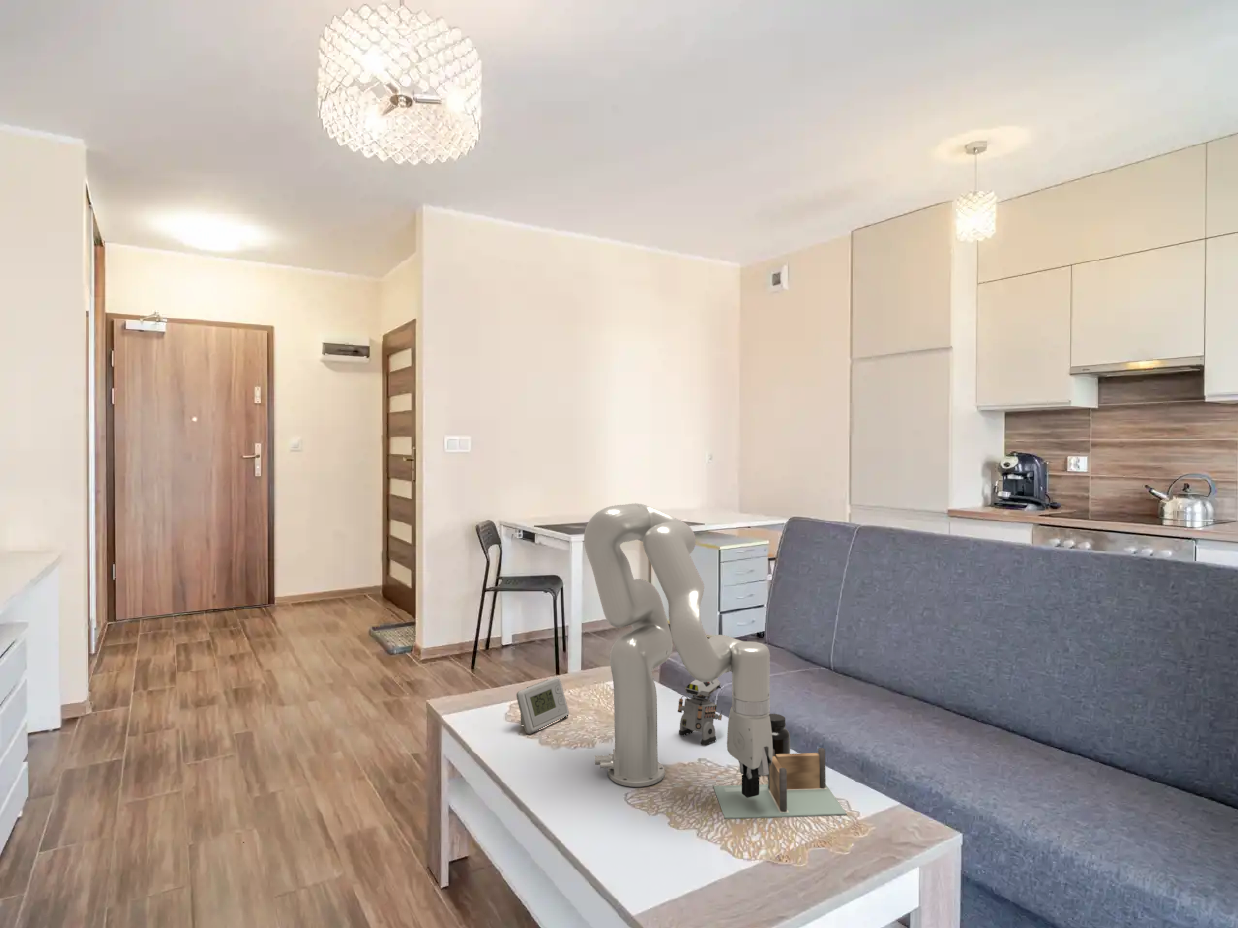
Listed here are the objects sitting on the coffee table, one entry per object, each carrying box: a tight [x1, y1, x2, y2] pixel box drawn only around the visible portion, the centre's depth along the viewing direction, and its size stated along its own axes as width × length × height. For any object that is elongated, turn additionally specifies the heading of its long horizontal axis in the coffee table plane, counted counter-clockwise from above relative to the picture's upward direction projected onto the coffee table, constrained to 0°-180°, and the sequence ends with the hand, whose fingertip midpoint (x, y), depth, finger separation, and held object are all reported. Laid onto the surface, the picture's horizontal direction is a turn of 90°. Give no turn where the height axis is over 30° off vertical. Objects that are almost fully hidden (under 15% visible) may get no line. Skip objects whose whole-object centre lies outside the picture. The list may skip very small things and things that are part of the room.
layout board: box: [713, 783, 848, 820], centre depth 141 cm, size 24×13×1 cm, turn 92°
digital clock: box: [516, 676, 570, 734], centre depth 184 cm, size 16×9×11 cm, turn 132°
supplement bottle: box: [769, 713, 791, 757], centre depth 155 cm, size 7×7×12 cm
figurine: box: [677, 678, 723, 746], centre depth 174 cm, size 9×12×15 cm
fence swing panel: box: [767, 749, 787, 812], centre depth 141 cm, size 11×1×8 cm, turn 2°
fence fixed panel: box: [776, 747, 827, 789], centre depth 146 cm, size 10×1×8 cm, turn 92°
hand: (750, 794), depth 140 cm, fingers closed
